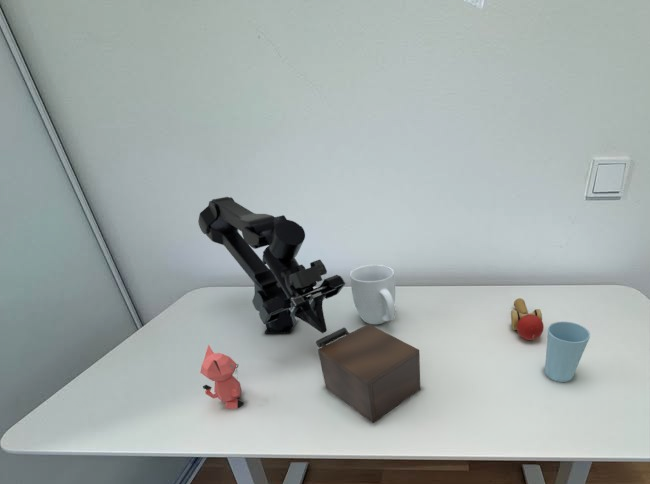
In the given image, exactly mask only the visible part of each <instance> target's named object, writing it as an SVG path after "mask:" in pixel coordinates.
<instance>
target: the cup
mask: <svg viewBox="0 0 650 484" xmlns="http://www.w3.org/2000/svg"><path fill="white" fill-rule="evenodd" d="M546 334H547V335H546V338H547V339H546V351H545V366H544V367H545V368H544V373H545V375H546V377H547V378H548V379H550V380H552V381H555V382H558V383H567V382H569V381H571V380H572V379H573V378H574V375H575V373H576V371H577V368H578V366H579V364H580V361H581V359H582V357H583V354H584V352H585V350H586V347H587V345H588V343H589V340H590V338H591V332H590V331H589V330H588V329H587V328H586V327H585V326H583V325H580V324H579V323H576V322H571V321H556V322H553V323H551V324H550V325H548V327H547V333H546Z"/></svg>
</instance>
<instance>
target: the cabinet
mask: <svg viewBox="0 0 650 484" xmlns="http://www.w3.org/2000/svg"><path fill="white" fill-rule="evenodd" d="M318 352H319V354H318V357H320V358H319V363H320V362H321V363H320V367H322V368H321V373H322V372H323V373H322V376H324V377H323V381H324V385H325V386H324V387H325V389H326V390H328V391H329V392H331V393H332V394H333V395H335V396H336V397H337V398H338V399H340V400H341V401H342V402H344V404H346V405H347V406H349V407H350V408H352V409H353V410H354V411H356V412H357V413H358V414H360V415H361V416H363V418H365V419H366V420H368V421H369V422H371V423H372V424H374V423H375V422H377V421H378V420H380V419H381V418H383V417H384V416H386V415H387V414H388V413H390V412H391V411H393V410H394V409H395V408H396V407H398V406H399V405H401V404H402V403H403V402H405V401H406V400H408V399H409V398H410V397H412V396H413V395H414V394H416V393H417V392H419V391H420V390H421V361H420V360H421V359H420V357H421V356H420V355H421V354H420V349H419V348H416V347H415V346H413V345H411V344H409V343H407V342H405V341H403V340H401V339H399V338H397V337H395V336H393V335H392V334H390V333H388V332H386V331H384V330H382V329H380V328H378V327H376V326H374V325H373V324H368V323H366V324H365V325H363V326H361V327H359V328H357V329H355V330H353V331H351V332H349V334H347V335H344V336H342V337H341V338H339V339H337V340H335V341H333V342H331V343H329V344H327V345H325V346H323V347H321V348H319V347H318V349H317V353H318Z"/></svg>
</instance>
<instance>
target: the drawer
mask: <svg viewBox="0 0 650 484" xmlns="http://www.w3.org/2000/svg"><path fill="white" fill-rule="evenodd" d="M349 333H350V332H349V331H348V329H347V328H346V327H342V328H339V329H338V330H336V331H333V332H332V333H329V334H327V335H325V336H323V337H321V338H319V339H317V340H315V345H316V346H317V347H318V349H319V348H321V347H323V346H325V345H327V344H329V343H331V342H333V341H335V340H337V339H339V338H341V337H343V336H345V335H347V334H349ZM317 354H318V355H319V352H318V351H317ZM318 357H319V356H318ZM319 359H320V357H319ZM319 363H320V364H321V362H320V361H319ZM320 367H321V366H320ZM321 369H322V367H321ZM321 373H322V374H323V372H322V371H321ZM322 376H323V375H322ZM323 378H324V376H323Z"/></svg>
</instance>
